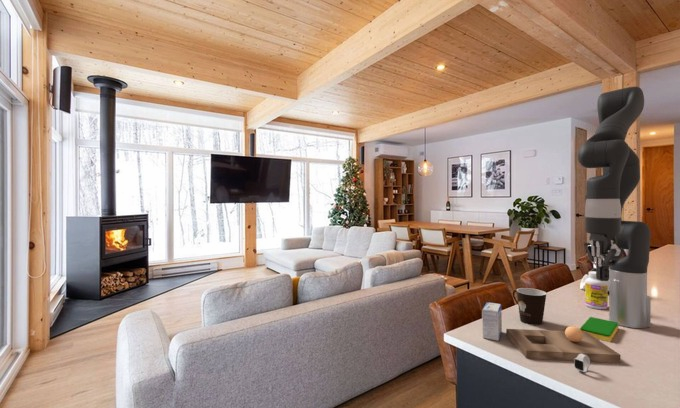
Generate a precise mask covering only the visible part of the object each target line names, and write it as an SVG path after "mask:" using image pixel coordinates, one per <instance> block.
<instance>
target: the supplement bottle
mask: <svg viewBox="0 0 680 408" xmlns="http://www.w3.org/2000/svg"><path fill="white" fill-rule="evenodd" d="M588 275H589V278H587V279H586V280H585V290H584V291H585V292H584V304H585V306H586V307H588V308H591V309H595V310H606V309H608V306H609V304H608V303H609V302H608V300H609V299H608V297H609V294H608V283H607V281H600V280H598V279H596V272H595V271H591V270H590V271H588Z"/></svg>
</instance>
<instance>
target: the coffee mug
mask: <svg viewBox="0 0 680 408" xmlns="http://www.w3.org/2000/svg"><path fill="white" fill-rule="evenodd" d="M515 293H516V294H515ZM515 295H516V296H515ZM516 297H517V299H516ZM512 298H513V300H514V301H515V303H516V304H517V305H518V313H519V320H520V322H521V323H524V324H525V325H526V324H527V325H529V326H541V325H542V324H543V323H544V315H545V307H546V299H547V292H546V291H544V290H540V289H536V288H530V287H529V288H528V287H520V288H516V289H515V290H513V291H512Z"/></svg>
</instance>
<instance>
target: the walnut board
mask: <svg viewBox="0 0 680 408" xmlns="http://www.w3.org/2000/svg"><path fill="white" fill-rule="evenodd" d="M505 329H506V330H505V332H506V333H505V334H506V337H507V338H508V339H509V341H511V343H512V344H513V345H514V346H515V347H516V349H518V351H519V352H520V353H521V354H522V355H523V356H524V357H525V359H539V360H555V361H556V360H557V361H574V359H575V358H577V356H578V355H579V354H584V355H587V356H588V357H589V358H590V362H595V363H597V362H599V363H615V364H621V354H620V353H618V352H617V351H615V349H612V348H611V347H609V346H608V345H607V344H605V343H604V342H602V340H599V339H596V338H595V337H593V336H592V335H590V334H589V333H587V332H582V333H583V338H582V340H581V341H579V342H573V341H570V340H569V339H568V338H567V337H566V335H565V330H547V329H523V328H522V329H520V328H519V329H518V328H505Z"/></svg>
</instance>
